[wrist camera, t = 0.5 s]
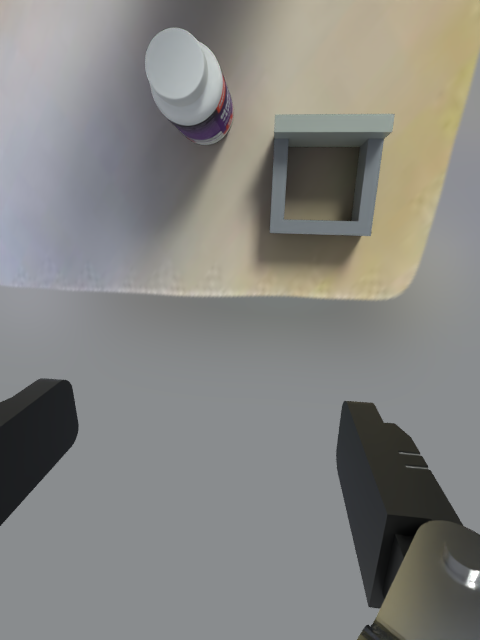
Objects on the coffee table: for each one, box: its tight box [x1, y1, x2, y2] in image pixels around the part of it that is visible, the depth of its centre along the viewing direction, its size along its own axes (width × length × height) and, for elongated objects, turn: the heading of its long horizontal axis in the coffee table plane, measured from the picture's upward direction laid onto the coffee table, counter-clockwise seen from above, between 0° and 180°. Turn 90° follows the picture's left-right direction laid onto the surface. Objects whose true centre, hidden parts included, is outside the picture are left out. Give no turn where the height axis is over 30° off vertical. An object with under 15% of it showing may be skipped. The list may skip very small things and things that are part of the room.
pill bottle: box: [145, 28, 234, 145], centre depth 25 cm, size 5×5×10 cm
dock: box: [270, 114, 395, 236], centre depth 28 cm, size 9×9×5 cm
